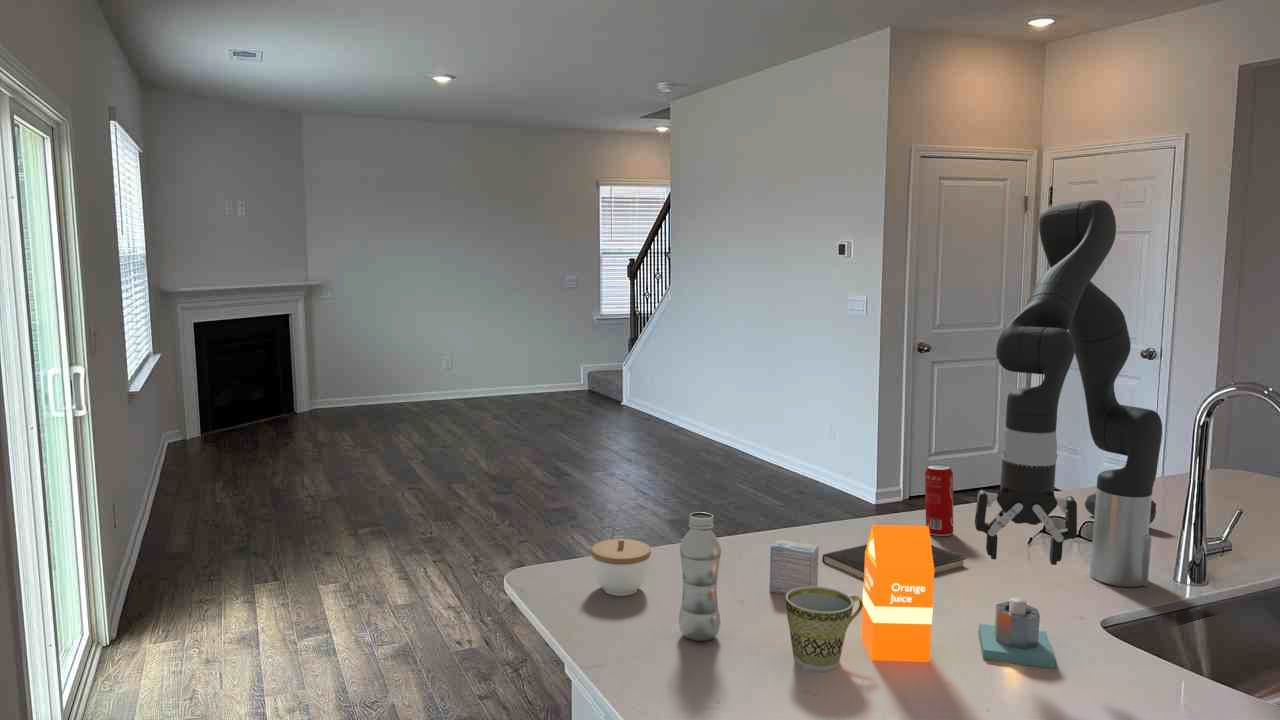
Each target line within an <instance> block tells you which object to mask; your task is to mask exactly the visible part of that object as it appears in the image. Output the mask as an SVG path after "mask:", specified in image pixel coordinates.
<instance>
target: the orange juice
mask: <svg viewBox="0 0 1280 720" xmlns="http://www.w3.org/2000/svg"><path fill="white" fill-rule="evenodd" d="M870 530H871V531H870V533H869V537H868V541H867V548H866V551H865V566H864V579H863V587H862V601H863V608H862V610H861V612H862V613H861V616H862V617H861V633H860V635H861V636H860V639H862V640H861V641H862V643H863V645H864V648H865V650H866V652H867V654H868V656H869V659H871V661H882V662H884V661H887V662H890V661H891V662H924V663H925V662H927V663H928V662H930V660H931V659H930V656H931V654H930V653H931V638H932V637H931V636H932V624H933V608H934V607H933V605H934V602H933V601H934V589H935V588H934V586H935V585H934V584H935V580H934V579H935V573H934V570H935V569H934V564H933V556H932V548H931V545H932V543H931V542H932V541H931V535H930V532H929V526H926V525H895V524H894V525H891V524H888V525H887V524H872V526H871V529H870Z"/></svg>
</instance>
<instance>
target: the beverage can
mask: <svg viewBox="0 0 1280 720" xmlns="http://www.w3.org/2000/svg"><path fill="white" fill-rule="evenodd" d="M924 481H925V482H924V485H925V487H924V490H925V491H924V492H925V502H924V503H925V526H929V532H930V536H935V537H947V536H951V535H952V534H953V533H954V472H953V470H952V466H951V465H946V464H941V463H939V464H935V463H934V464H928V465H926V469H925V471H924Z"/></svg>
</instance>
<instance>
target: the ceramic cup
mask: <svg viewBox="0 0 1280 720" xmlns="http://www.w3.org/2000/svg"><path fill="white" fill-rule="evenodd" d="M857 601H858V603H859V606H858V609H857V610H856V611H854V613H853V608H854V603H855V602H857ZM785 609H786V615H787V616H786V617H787V620H788V626H789V636H790V642H791V648H792V655H793V662H794V663H795V664H796V665H797V666H799V667H800V668H801V669H803V670H805V671H811V672H816V673H825V672H831V671H835V670H837V669H838V666H839V663H840V660H841V655H842V650H843V646H844V641H845V638H846V633H847V630H848V628H849V626H850V624H851V623H852V621H853V620H855V618H856V617H858V616H859V615H860V614H861V612H862V610H863V598H861V597H859V596H857V595H851V596H850V595H848V594H847V593H845V592H843V591H840V590H837V589H835V588H831V587H826V586H818V587H815V586H809V587H800V588H795V589H793V590H791V591H789V592H788V593H787V594H785Z"/></svg>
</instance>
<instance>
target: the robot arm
mask: <svg viewBox="0 0 1280 720" xmlns="http://www.w3.org/2000/svg"><path fill="white" fill-rule="evenodd" d="M1116 221H1117V220H1116V217H1115V212H1114V210H1113V208H1112V206H1111V205H1110V203H1108V202H1107V201H1106V200H1101V199H1091V200H1085V201H1083V200H1082V201H1077V202H1070V203H1064V204H1059V205H1058V204H1057V205H1054V206H1049V207H1047V208H1044V209H1043V210H1042V212H1041V214H1040V215H1039V220H1038V227H1039V229H1038V230H1039V237H1040V241H1041V246H1042V248H1043V251H1044V254H1045V258H1046V259H1047V263H1048V265H1049V269H1048V270H1046V271H1045V273H1043V274H1042V275H1041V276H1040V278H1038V280H1037V282H1036V283H1035V284H1034V286H1033V288H1032V290H1031V293H1030V294H1029V297H1028V300H1027V302H1026V304H1025V307H1024V308H1023V309H1022V310H1021V311H1020V312H1019V313H1018V314H1017V315H1016V316H1015V317H1014V318H1013V319H1012V320H1011V321H1010V322H1009V323H1008V324H1007V325H1006V326H1005V327H1004V329H1002V330H1003V331H1001V333H1000V335H999V337H998V341H997V344H996V347H995V348H996V349H995V355H996V358H997V361H998V363H999V365H1000V366H1001V367H1002V368H1003V369H1004V370H1006V371H1009V372H1012V373H1020V374H1021V373H1023V374H1033V375H1034V374H1036V375H1043V376H1044V377H1043V380H1042V382H1041V384H1040V385H1037V386H1032V387H1031V386H1030V387H1020V388H1015V389H1013V390H1011V391H1010V392H1009V393H1008V394H1007V400H1006V412H1005V417H1006V418H1005V431H1004V434H1003V440H1002V450H1001V451H1002V452H1001V469H1000V470H1001V471H1000V487H999V491H998V492H997V493H996V492H995V493H994V492H989V491H988V492H987V491H986V490H984V489H980V490H978V493H977V501H976V509H975V516H974V517H975V518H974V526H975V529H976V531H978V532H982V533H984V534H985V535H986V546H985V547H986V548H985V550H986V553H987V556H990V559H991V560H995V561H996V560H997V557H998V556H997V553H998V552H997V551H998V539H999V538H998V535H997V534H998V532H1000V531H1001V530H1002V529H1003V528H1005V527H1006V526H1007V525H1008V524H1009V523H1010V522H1013V523H1014V524H1018V525H1020V524H1029V525H1031V526H1032V525H1033V526H1037V525H1039V524H1041V523H1042V524H1043V526H1044V527H1045V528H1046V529H1047V531H1048V532H1049V534H1050V535H1051V537H1050V547H1049V548H1050V549H1049V562H1050V565H1053V566H1057V564H1058V563H1057V562H1061V560H1062V559H1063V557H1062V556H1063V547H1064V546H1063V543H1064V541H1066V540H1070V539H1071V540H1075V539H1076V538H1077V537H1078V536H1077V535H1078V503H1077V501H1076V500H1075V498H1074V497H1073V496H1071V495H1068V496H1066V497H1065V498H1064V497H1056V495H1055V481H1056V467H1057V466H1056V465H1057V459H1058V451H1057V450H1058V449H1057V448H1058V442H1057V441H1058V440H1057V425H1058V424H1057V420H1058V407H1059V401H1060V395H1061V392H1062V389H1063V385H1064V382H1065V380H1066V377H1067V374H1068V372H1069V370H1070V368H1071V365H1072V363H1073V360H1074V356H1075V358H1076V361H1077V365H1078V369H1079V373H1080V377H1081V382H1082V386H1083V391H1084V396H1085V397H1084V398H1085V405H1086V411H1087V413H1086V414H1087V418H1088V420H1087V421H1088V427H1089V430H1090V431H1089V432H1090V434H1091V438H1092V440H1093V442H1094V445H1095V446H1096V448H1098V449H1100V450H1102V451H1105V452H1106V453H1112V454H1115V455H1116V454H1117V455H1121V456H1125V457H1126V456H1127V458H1126V461H1125V465H1124V466H1123V467H1122V468H1119V469H1118V468H1116V469H1109V470H1103V471H1101V472H1100V473H1099V474H1098V475H1097V477H1096V492H1095V493H1096V502H1095V515H1093V516H1094V518H1093V528H1092V529H1093V530H1092V540H1091V541H1092V542H1091V553H1090V563H1089V567H1090V568H1089V569H1090V570H1089V575H1090V576H1091V578H1092V579H1094V580H1096V581H1099V582H1101V583H1105V584H1107V585H1112V586H1117V587H1125V588H1135V587H1148V582H1149V572H1150V560H1151V550H1152V536H1151V535H1150V534H1149V533H1150V524H1149V522H1150V511H1151V500H1152V499H1153V498H1152V496H1153V489H1154V488H1153V487H1154V484H1155V481H1156V477H1157V473H1158V472H1157V471H1158V464H1159V457H1160V451H1161V444H1162V438H1163V422H1162V419H1161V416H1160V415H1159V414H1158V412H1157V411H1155V410H1152V409H1150V408H1144V407H1136V406H1132V405H1131V406H1130V405H1126V404H1125V405H1124V404H1120V403H1119V402H1118V400H1117V397H1116V395H1115V383H1116V379H1117V378H1118V376H1119V374H1120V372H1121V371H1122V370H1123V367H1124V366H1125V363H1126V362H1127V360H1128V358H1129V355H1130V353H1131V348H1132V347H1131V344H1132V343H1131V338H1130V334H1129V329H1128V323H1127V322H1126V317H1125V314H1124V312H1123V310H1122V309H1121V307H1119V306H1118V304H1117V303H1116V302H1115V301H1114V300H1113V299H1112V298H1111V297H1110V296H1108V294H1105V292H1104V291H1102V290H1101V289H1100V288H1099V287H1097V286H1096V285H1095V284H1094V283H1093V282H1092V281H1091V280H1092V278H1093V277H1094V276H1095V274H1096V273H1097V272H1098V270H1099V268H1100V267H1101V266H1102V265H1103V264H1102V263H1104V261H1105V259H1106V257H1108V255H1109V254H1110V251H1111V250H1112V248H1113V245H1114V243H1115V239H1116V234H1117V233H1116V232H1117V222H1116ZM994 502H997V504H998V505H999V507H1000V508H1001V509H1000V510H999V511H998V512H997V514H995V517H994V518H993V519H992V520H991V521H990V522H986V516H987V515H986V514H987V508H990V507H991V506H992V505H993V503H994ZM1057 507H1059V508H1060V510H1061V512H1062V513H1064V515H1065V517H1064V519H1065V520H1064V521H1065V523H1064V524H1065V526H1064V527H1065V528H1061V529H1059V528H1058V526H1057V525H1056V523H1055V522H1054V521H1053V519H1052V518H1051V517H1050V514H1051V513H1052V512H1053V511H1054V510H1055V509H1056V508H1057Z"/></svg>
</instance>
